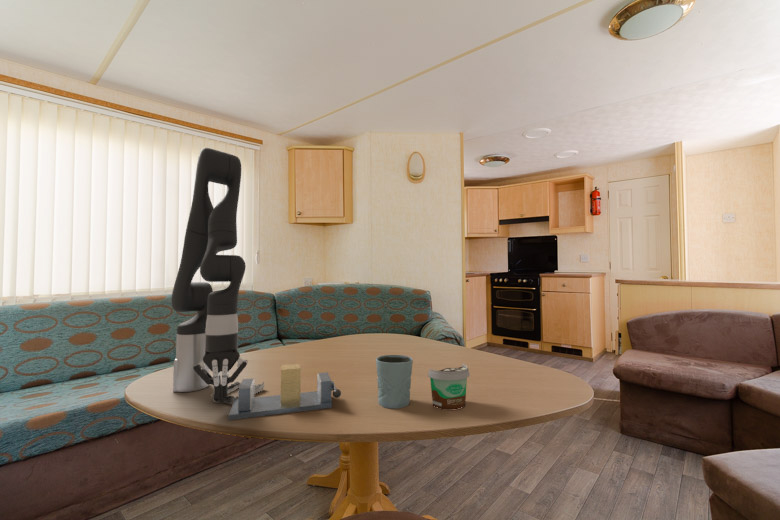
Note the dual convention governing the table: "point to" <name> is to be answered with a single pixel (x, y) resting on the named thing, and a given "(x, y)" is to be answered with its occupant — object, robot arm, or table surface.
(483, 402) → the table surface
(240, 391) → the sliding jaw
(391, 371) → the blue embossed cup
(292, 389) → the brass block
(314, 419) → the table surface
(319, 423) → the table surface
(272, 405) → the vise base
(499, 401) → the table surface
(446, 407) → the food container
